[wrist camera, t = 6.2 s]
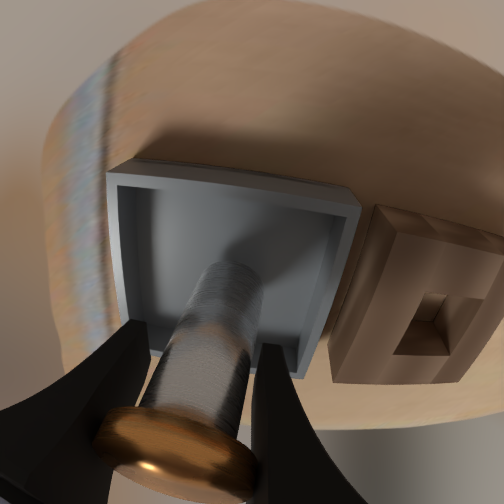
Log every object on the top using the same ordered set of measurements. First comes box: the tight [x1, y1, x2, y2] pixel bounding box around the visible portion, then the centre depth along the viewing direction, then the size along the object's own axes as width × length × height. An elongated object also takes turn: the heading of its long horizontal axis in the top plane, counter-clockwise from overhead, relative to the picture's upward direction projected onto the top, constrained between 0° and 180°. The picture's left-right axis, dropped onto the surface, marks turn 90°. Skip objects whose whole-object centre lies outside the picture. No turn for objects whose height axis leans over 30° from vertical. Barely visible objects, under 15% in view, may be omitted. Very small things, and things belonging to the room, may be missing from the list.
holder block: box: [327, 204, 504, 385], centre depth 14 cm, size 9×9×3 cm
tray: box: [106, 158, 362, 379], centre depth 15 cm, size 10×10×2 cm
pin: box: [92, 261, 264, 504], centre depth 10 cm, size 4×4×9 cm
